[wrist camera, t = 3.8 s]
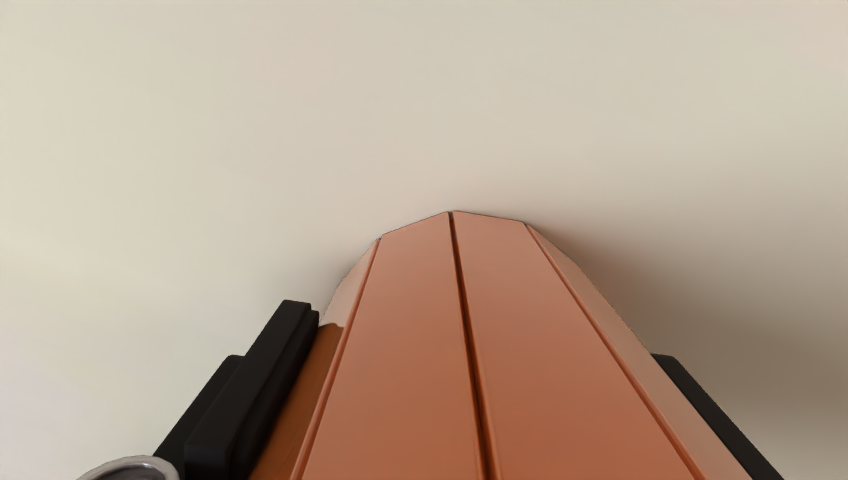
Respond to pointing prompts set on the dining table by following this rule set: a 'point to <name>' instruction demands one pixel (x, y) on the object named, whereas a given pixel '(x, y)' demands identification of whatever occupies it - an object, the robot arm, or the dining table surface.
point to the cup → (481, 372)
